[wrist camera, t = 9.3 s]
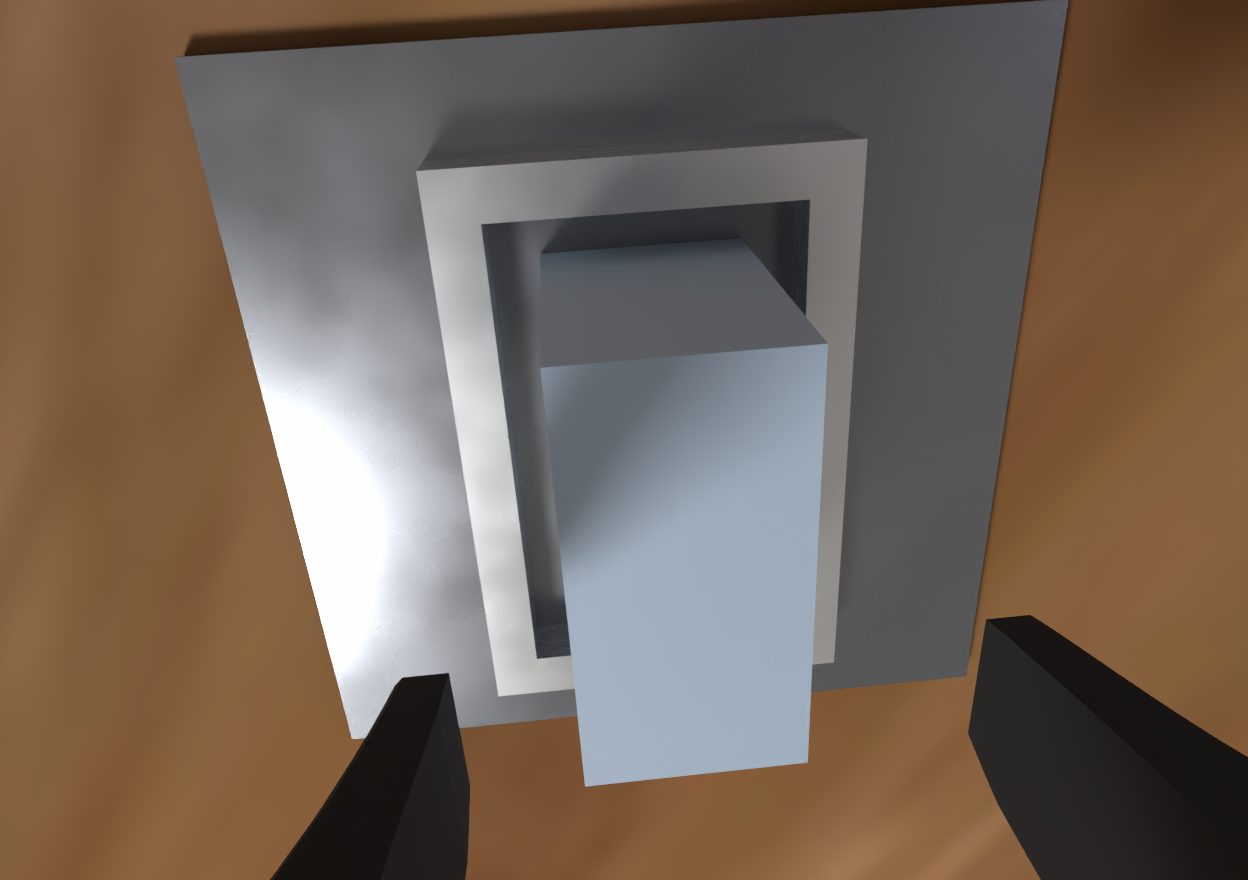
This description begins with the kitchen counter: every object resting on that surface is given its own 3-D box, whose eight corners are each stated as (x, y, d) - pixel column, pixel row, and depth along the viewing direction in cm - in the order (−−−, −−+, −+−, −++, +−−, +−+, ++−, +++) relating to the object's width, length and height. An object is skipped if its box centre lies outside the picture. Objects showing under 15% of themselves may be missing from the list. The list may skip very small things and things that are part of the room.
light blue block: (741, 569, 21) (807, 762, 16) (573, 585, 21) (585, 786, 16) (741, 238, 18) (827, 343, 12) (540, 253, 18) (540, 367, 12)
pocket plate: (1057, -1, 17) (1148, -1, 14) (959, 665, 24) (1009, 744, 21) (182, 55, 16) (115, 67, 13) (355, 728, 23) (332, 816, 21)
